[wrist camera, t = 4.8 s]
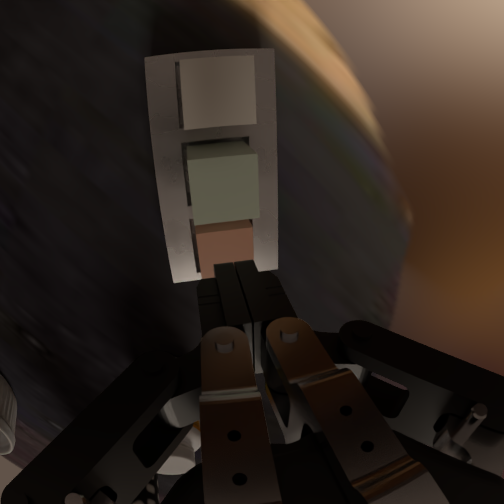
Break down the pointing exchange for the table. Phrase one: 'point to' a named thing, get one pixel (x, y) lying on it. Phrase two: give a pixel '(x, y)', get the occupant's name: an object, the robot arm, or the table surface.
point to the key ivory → (218, 91)
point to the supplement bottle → (183, 453)
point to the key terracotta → (223, 244)
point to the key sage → (223, 182)
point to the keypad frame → (177, 139)
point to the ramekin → (7, 417)
